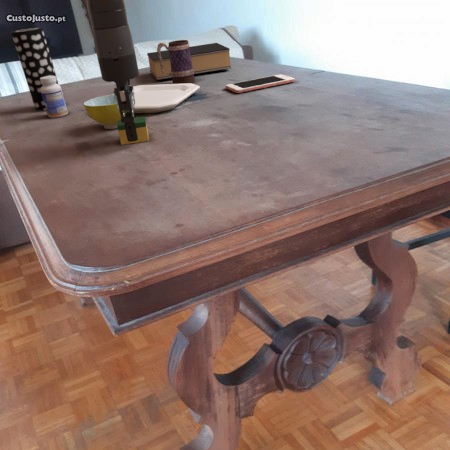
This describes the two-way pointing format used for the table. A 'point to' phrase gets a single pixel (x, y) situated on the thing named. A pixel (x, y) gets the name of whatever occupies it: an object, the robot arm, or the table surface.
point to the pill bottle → (53, 97)
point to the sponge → (140, 129)
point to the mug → (178, 61)
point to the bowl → (104, 110)
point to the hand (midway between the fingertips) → (133, 135)
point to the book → (193, 60)
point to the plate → (161, 96)
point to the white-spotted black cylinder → (34, 61)
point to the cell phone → (259, 83)
